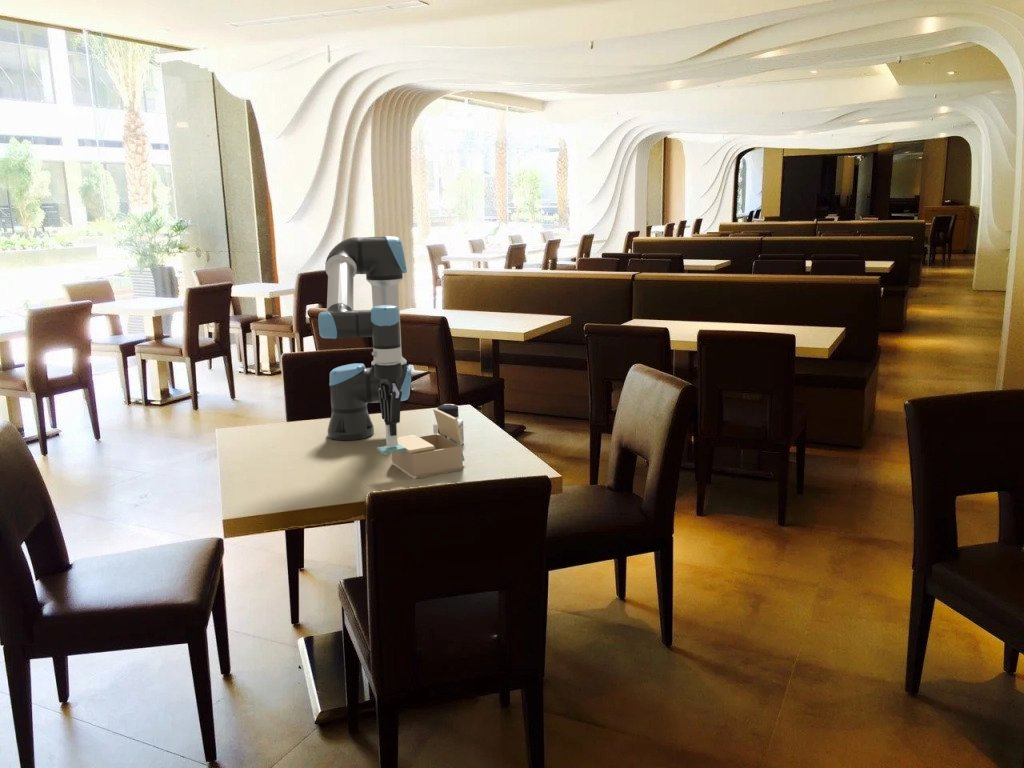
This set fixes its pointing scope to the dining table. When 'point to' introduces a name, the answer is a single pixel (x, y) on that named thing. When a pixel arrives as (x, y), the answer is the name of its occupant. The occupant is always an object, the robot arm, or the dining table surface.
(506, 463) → the dining table surface
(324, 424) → the dining table surface
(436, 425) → the container
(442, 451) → the carton
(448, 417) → the far flap
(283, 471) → the dining table surface
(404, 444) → the near flap
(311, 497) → the dining table surface
